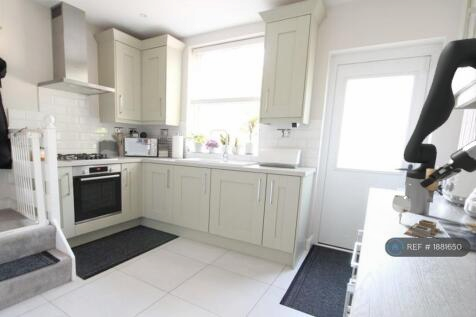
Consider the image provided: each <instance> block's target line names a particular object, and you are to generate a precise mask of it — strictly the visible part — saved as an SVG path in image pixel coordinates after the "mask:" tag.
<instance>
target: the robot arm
mask: <svg viewBox="0 0 476 317" xmlns="http://www.w3.org/2000/svg"><path fill="white" fill-rule="evenodd" d="M438 56H439V57H438V59H437V63H436V68H435V70H434V75H433V77H432V78H433V79H432V81H431V85H430V88H429V90H428V93H427V96H426V98H425V101H424V104H423V106H422V108H421V110H420V114H419V117H418V119H417V122H416V124H415V127H414V130H413V132H412V134H411V136H410V138H409V140H408V142H407V143H406V146H405V148H404V150H403V159H404V161H405V162H407V163H408V164H409V163H411V164H420V166H418V167H416V168H414V169H410V170H407V172H406V176H405V190H404V196H406V197H409V198H410V202H411V208H410V211H409V212H408V213H411V214H415V215H420V216H424V217H429V215H430V205H431V202H427V196H428V190H425V188H426V187H428V186H429V185H431V184H433V183H435V182H437V181H439V182H443V181H446V180H447V179H450V178H452V177H454V176H456V175H458V174H460V173H461V172H462V170H463V171H465V172H467V173H473V172H475V171H476V139H474V140H472V141H471V142H469V143H467V144H466V145H464V146H463V147H461V148H459V149H458V150H456V151H455V152H452V154H450V156H449V157H450V160H451V161H452V162H451V163H445V164H443V165H442V166H440V167H439V168H437V170H436V171H435V172H433V173H432V174H430V175H429V176H428V177H429V178H427V179H426V169H436V162H437V155H438V151H437V147H436V145H435V144H432V143H423V142H424V141H425V140H426V139H427V137H428V136H430V135H431V134H432V133H434V132H435V131H436V130H438V129H439V128H440V127H442V126H443V125H444V124H445V123H447V122H448V120H449V118H450V116H451V114H452V112H453V109H455V108H454V107H455V104H456V98H455V95H454V91H453V87H452V86H453V80H454V77H455V75H456V72H457V71H458V69H459V68H467V67H470V68H473V69H475V70H476V37H471V38H464V39H463V38H462V39H455V40H452V41H450V42H448V43H446V44H445V46H444V47H443V48H442V50H441V52H440V54H439V55H438ZM435 175H436V176H437V178H435V177H434V176H435Z"/></svg>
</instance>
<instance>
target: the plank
mask: <svg viewBox="0 0 476 317" xmlns="http://www.w3.org/2000/svg"><path fill="white" fill-rule="evenodd" d="M440 229H441V228H438V227H437V222H435V221H432V220H428V219H427V220H426V219H424V218H423V219H420V220H419V221H418V223H417V222H415V223H414V224H413V225H412V226H410V228H409V229H407V230H406V231H405V232H404V233H403V235H404V236H405V235H406V236H410V237H413V238H416V237H418V238H417V239H419V238H427V237H433V238H434V237H435V236H436V235H437V233H439V231H440Z"/></svg>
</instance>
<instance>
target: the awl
mask: <svg viewBox="0 0 476 317" xmlns="http://www.w3.org/2000/svg"><path fill="white" fill-rule="evenodd" d="M437 169H438V168H437ZM437 169H436V168H435V169H426V179H427V178H429V177H428V176H429V175H430V174H432V173H433V172H435V171H436V170H437ZM434 177H435V178H437V176H436V175H435V176H434ZM439 182H440V181H437V182H435V183H433V184H431V185H429V186H428V187H426V188H425V190H428V196H427V202H430V204H432V203H434V195H435V194H434V193H435V192H438V191H439Z"/></svg>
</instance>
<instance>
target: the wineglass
mask: <svg viewBox="0 0 476 317" xmlns="http://www.w3.org/2000/svg"><path fill="white" fill-rule="evenodd" d="M391 206H392V209H393V211H395V212H397V213H399V214H398V219H399V221H398V224H402V223H401V222H402V221H401V220H402V217H403V214H406V213H410V212H409V211H410V208H411V202H410V198H409V197H406V196H405V195H399V194H397V195H395V194H394V196H393V198H392V203H391Z"/></svg>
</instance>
